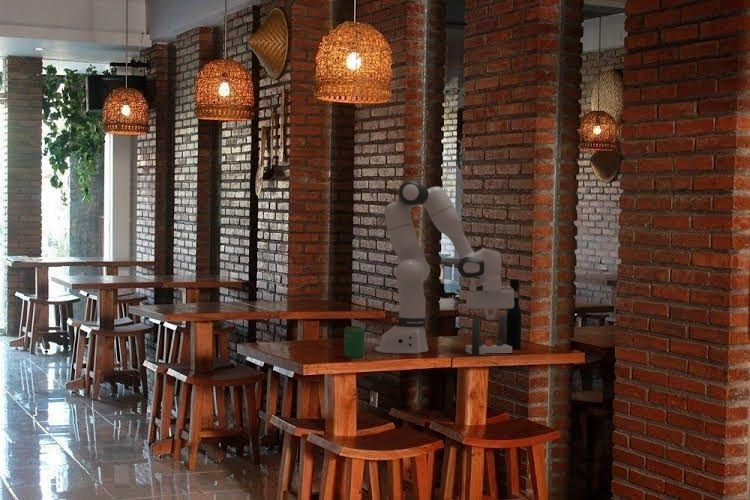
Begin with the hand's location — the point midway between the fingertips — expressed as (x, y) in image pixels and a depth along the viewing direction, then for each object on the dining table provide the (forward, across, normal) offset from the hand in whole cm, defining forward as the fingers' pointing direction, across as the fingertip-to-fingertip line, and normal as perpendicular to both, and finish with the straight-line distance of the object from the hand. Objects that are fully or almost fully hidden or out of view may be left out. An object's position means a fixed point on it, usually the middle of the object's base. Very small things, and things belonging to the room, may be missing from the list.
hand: (490, 319), depth 443 cm
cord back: (+14, -8, -7) cm, 18 cm away
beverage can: (+14, +59, +6) cm, 61 cm away
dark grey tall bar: (+14, +8, +6) cm, 18 cm away
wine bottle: (+14, -15, -12) cm, 24 cm away
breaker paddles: (+11, 0, 0) cm, 11 cm away
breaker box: (+14, 0, 0) cm, 14 cm away
